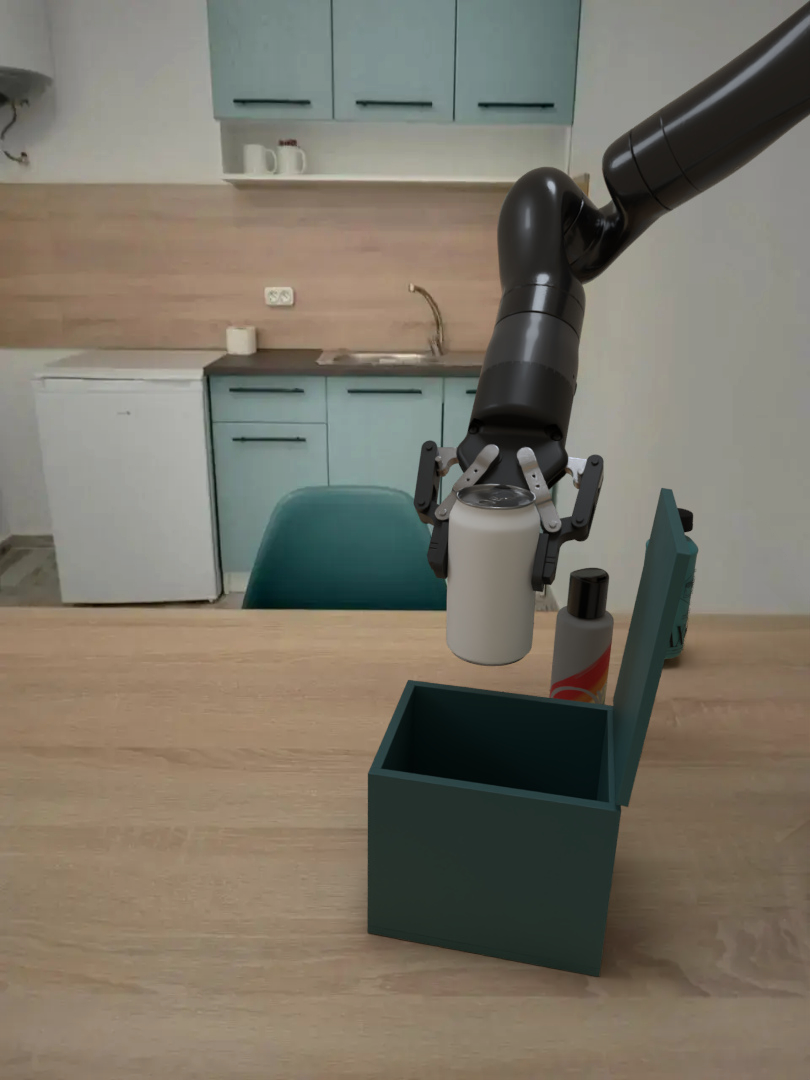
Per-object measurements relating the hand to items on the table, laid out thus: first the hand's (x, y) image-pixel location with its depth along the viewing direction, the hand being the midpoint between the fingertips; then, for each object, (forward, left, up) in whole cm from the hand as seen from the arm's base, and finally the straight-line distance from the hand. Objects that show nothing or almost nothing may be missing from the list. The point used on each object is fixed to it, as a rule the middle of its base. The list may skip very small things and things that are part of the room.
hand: (487, 580), depth 59 cm
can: (0, -2, -6) cm, 7 cm away
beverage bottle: (-18, -46, -28) cm, 56 cm away
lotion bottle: (-8, -24, -28) cm, 37 cm away
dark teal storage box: (-2, -1, -28) cm, 28 cm away
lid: (-11, -1, -3) cm, 11 cm away
